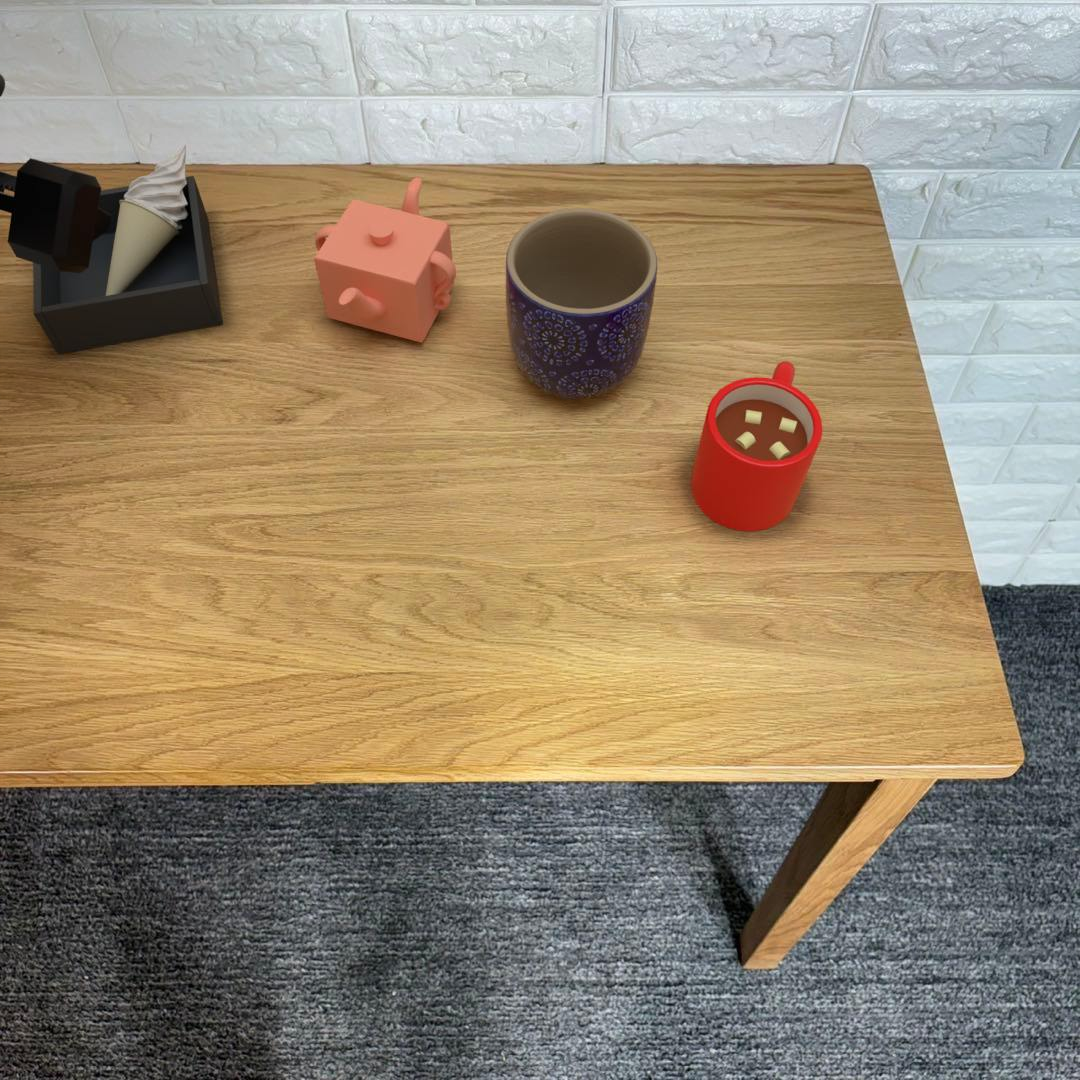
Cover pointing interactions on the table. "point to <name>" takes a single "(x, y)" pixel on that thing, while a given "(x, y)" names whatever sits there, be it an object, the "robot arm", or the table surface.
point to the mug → (755, 451)
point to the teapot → (386, 267)
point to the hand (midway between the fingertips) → (54, 205)
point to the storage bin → (132, 287)
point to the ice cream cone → (147, 220)
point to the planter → (579, 300)
